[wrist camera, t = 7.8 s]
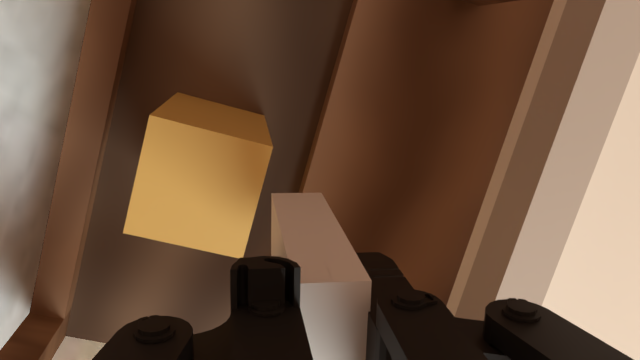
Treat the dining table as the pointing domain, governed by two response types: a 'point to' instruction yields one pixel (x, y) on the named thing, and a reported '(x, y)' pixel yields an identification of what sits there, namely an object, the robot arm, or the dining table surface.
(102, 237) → the wooden organizer rack
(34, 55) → the dining table surface
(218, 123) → the block
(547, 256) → the lid
